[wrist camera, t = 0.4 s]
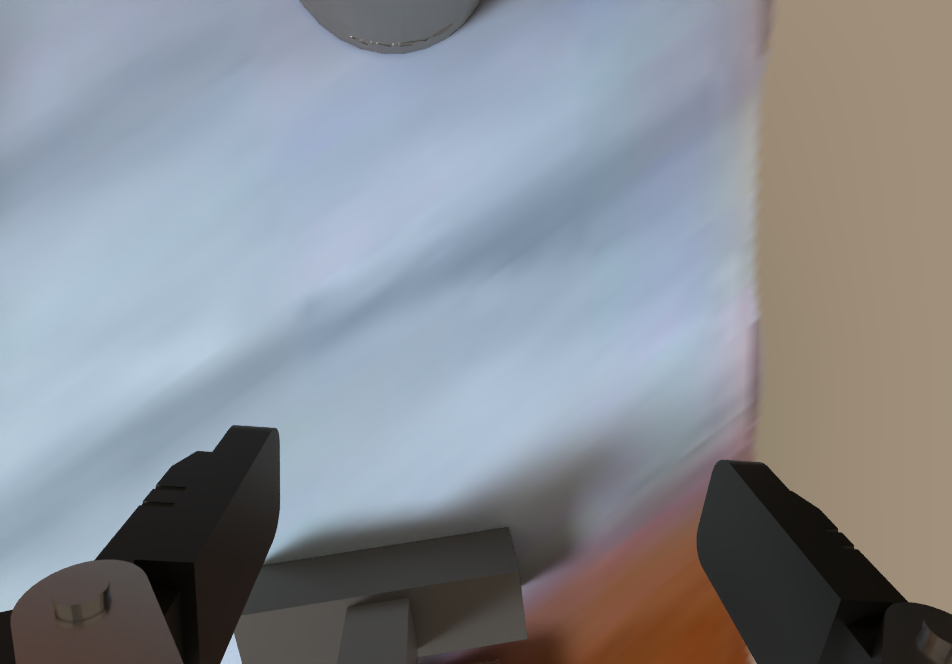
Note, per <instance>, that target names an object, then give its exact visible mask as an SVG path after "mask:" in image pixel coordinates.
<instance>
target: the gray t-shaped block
mask: <svg viewBox="0 0 952 664" xmlns="http://www.w3.org/2000/svg"><path fill="white" fill-rule="evenodd" d="M234 634H235V638H236V642H237V646H238V649H239V653H240V657H241V661H242V664H418V657H423V656H429V655H435V654H441V653H447V652H453V651H459V650H465V649H471V648H477V647H483V646H489V645H495V644H501V643H507V642H513V641H519V640H525V639H527V631H526V623H525V615H524V607H523V599H522V590H521V582H520V574H519V568H518V564H517V560H516V556H515V552H514V548H513V544H512V539H511V535H510V531H509V527H505V528H499V529H492V530H486V531H480V532H473V533H467V534H460V535H454V536H448V537H441V538H435V539H428V540H422V541H416V542H409V543H403V544H397V545H390V546H384V547H377V548H371V549H365V550H358V551H352V552H345V553H339V554H333V555H326V556H320V557H314V558H307V559H301V560H294V561H288V562H282V563H275V564H269V565H263V566H262V568H261V570H260V572H259V575H258V577H257V579H256V582H255V584H254V586H253V589H252V591H251V593H250V596H249V598H248V600H247V603H246V605H245V607H244V610H243V612H242V614H241V617H240V619H239V621H238V624H237V626H236V628H235V631H234Z"/></svg>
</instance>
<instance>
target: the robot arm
mask: <svg viewBox="0 0 952 664" xmlns="http://www.w3.org/2000/svg"><path fill="white" fill-rule="evenodd" d="M300 1H301V3H302V4H303V6H304V7H305V8H306V9H307V10H308V11H309V13H310V14H311V15H312V16H313V17H314V18H315V19H316V20H317V21H318V23H319V24H320V25H321V26H323V27H324V28H325V29H327V30H328V31H329V32H331V33H332V34H334V35H335V36H336V37H338V38H339V39H341V40H343V41H345V42H347V43H349V44H351V45H353V46H356V47H358V48H360V49H364V50H368V51H372V52H377V53H381V54H405V53H410V52H414V51H418V50H422V49H426V48H428V47H430V46H432V45H434V44H436V43H438V42H440V41H442V40H444V39H446V38H447V37H448V36H450V35H451V34H452V33H453V32H454V31H456V30H457V29H458V28H459V27H461V26H462V25H463V24H464V23H465V21H466V20H467V19H468V17H469V16H470V15H471V14H472V12H473V11H474V10H475V9H476V7H477V6H478V4H479V2H480V0H300ZM279 511H280V441H279V433H278V430H277V429H276V428H268V427H253V426H239V425H233V426H231V428H230V429H229V430H228V431H227V433H226V434H225V435H224V437H223V438H222V440H221V441H220V442H219V444H218V445H217V446H216V448H215V449H214V451H213V452H204V451H196V452H195V453H193V454H191V455H190V456H188V457H186V458H185V459H183V460H181V461H180V462H178V463H176V464H175V465H173V466H171V468H170V469H169V470H168V471H167V472H166V474H165V475H164V476H163V477H162V479H161V480H160V481H159V482H158V483H157V485H156V489H153V490H152V491H151V492H150V493H149V494H148V496H147V497H146V498H145V499H144V501H143V504H142V505H139V507H138V508H137V509H136V510H135V511H134V513H133V514H132V515H131V516H130V518H129V519H128V520H127V521H126V522H125V524H124V525H123V526H122V527H121V529H120V530H119V531H118V532H117V533H116V535H115V536H114V537H113V538H112V539H111V541H110V542H109V543H108V544H107V546H106V547H105V548H104V549H103V550H102V552H101V553H100V554H99V555H98V557H97V558H96V559H95V560H94V561H89V562H84V563H80V564H76V565H73V566H70V567H67V568H64V569H62V570H60V571H58V572H55V573H53V574H51V575H49V576H48V577H46V578H44V579H42V580H41V581H39V582H38V583H37V584H35V585H34V586H32V587H31V588H30V589H29V590H28V591H27V592H26V593H24V595H23V596H22V597H21V598H20V599H19V600H18V602H17V603H16V605H15V607H14V609H13V610H10V611H5V612H0V664H220V663H221V661H222V658H223V656H224V654H225V651H226V649H227V647H228V644H229V642H230V640H231V638H232V635H233V633H234V631H235V628H236V626H237V624H238V621H239V619H240V617H241V614H242V612H243V610H244V607H245V605H246V603H247V600H248V598H249V596H250V593H251V591H252V589H253V586H254V584H255V582H256V579H257V577H258V575H259V572H260V570H261V568H262V565H263V563H264V561H265V558H266V556H267V554H268V551H269V549H270V547H271V544H272V542H273V540H274V537H275V533H276V529H277V525H278V519H279ZM697 552H698V557H699V560H700V563H701V565H702V567H703V569H704V571H705V573H706V575H707V576H708V578H709V580H710V582H711V583H712V585H713V587H714V589H715V590H716V592H717V594H718V596H719V598H720V599H721V601H722V603H723V605H724V606H725V608H726V610H727V612H728V613H729V615H730V617H731V619H732V621H733V622H734V624H735V626H736V628H737V629H738V631H739V633H740V635H741V636H742V638H743V640H744V642H745V643H746V645H747V647H748V649H749V651H750V652H751V654H752V656H753V658H754V659H755V661H756V663H757V664H952V614H949V613H947V612H945V611H942V610H940V609H937V608H934V607H931V606H928V605H923V604H918V603H912V602H911V603H910V602H908V601H907V600H906V599H905V598H904V597H903V596H902V595H901V594H900V593H899V592H898V591H897V590H896V589H895V588H894V587H893V586H892V585H891V584H890V582H888V580H887V579H886V578H885V577H884V576H883V575H882V574H881V573H880V572H879V571H878V570H877V569H876V568H875V567H874V566H873V565H872V564H871V563H870V561H869V560H868V559H867V558H866V557H865V556H864V555H863V554H862V553H861V552H860V551H859V550H857V549H854V545H853V544H852V543H851V542H850V541H849V540H848V539H847V538H846V536H845V535H844V534H842V533H840V532H838V528H837V527H836V526H835V525H834V524H833V523H832V522H831V521H830V520H829V519H828V518H827V517H826V515H825V514H824V513H822V511H821V510H820V509H819V508H817V507H815V506H814V505H812V504H811V503H809V502H808V501H806V500H805V499H803V498H802V497H800V496H799V495H797V494H796V493H794V492H792V491H790V490H789V489H788V488H787V487H786V486H785V485H784V484H783V483H782V482H781V480H780V479H779V478H778V477H777V476H776V475H775V474H774V473H773V472H772V471H771V470H770V469H769V467H768V466H766V465H765V464H764V463H761V462H749V461H734V460H720V461H718V462H717V463H716V465H715V466H714V469H713V471H712V475H711V479H710V483H709V487H708V491H707V495H706V499H705V503H704V506H703V510H702V514H701V518H700V522H699V526H698V531H697Z"/></svg>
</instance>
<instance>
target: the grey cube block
mask: <svg viewBox="0 0 952 664" xmlns="http://www.w3.org/2000/svg"><path fill="white" fill-rule="evenodd" d="M471 664H500V662H499V659H495V660H489V661H483V662H477V663H471Z"/></svg>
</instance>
